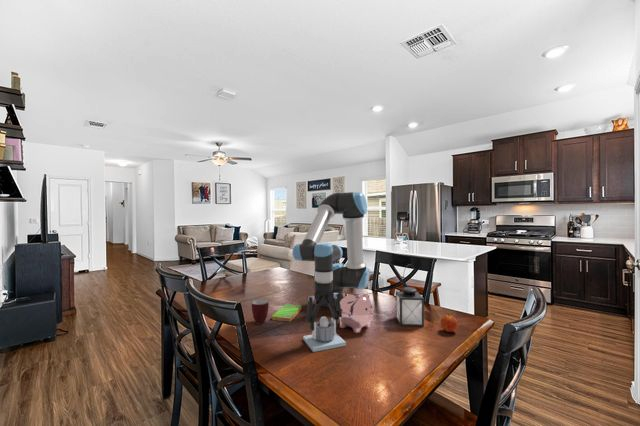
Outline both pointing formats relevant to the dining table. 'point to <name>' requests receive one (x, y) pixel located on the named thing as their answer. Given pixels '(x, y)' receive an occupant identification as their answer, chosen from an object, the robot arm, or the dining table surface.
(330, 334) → the ring
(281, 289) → the dining table surface
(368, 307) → the piggy bank
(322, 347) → the block
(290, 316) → the game box
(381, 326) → the dining table surface
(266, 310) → the mug
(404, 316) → the lantern
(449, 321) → the fruit
